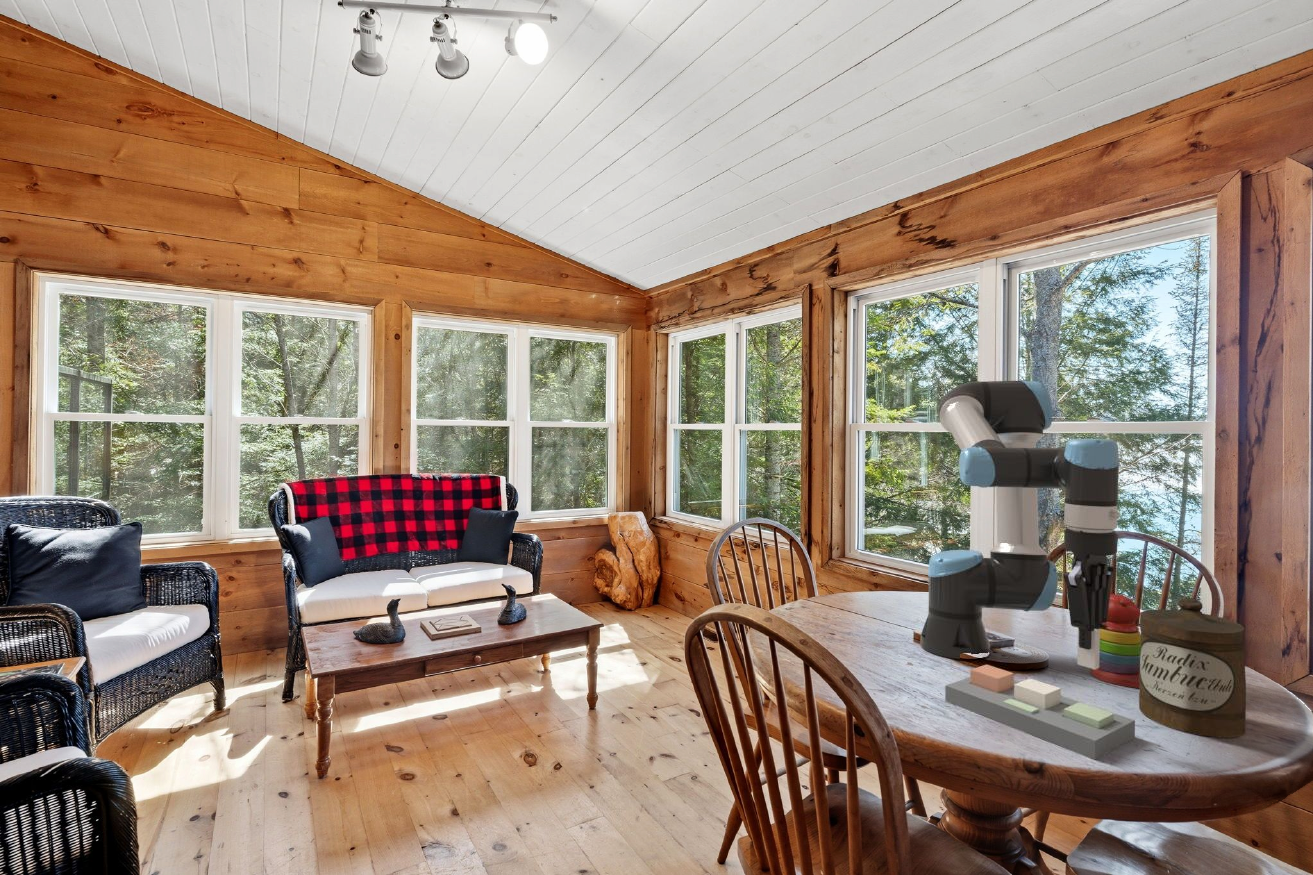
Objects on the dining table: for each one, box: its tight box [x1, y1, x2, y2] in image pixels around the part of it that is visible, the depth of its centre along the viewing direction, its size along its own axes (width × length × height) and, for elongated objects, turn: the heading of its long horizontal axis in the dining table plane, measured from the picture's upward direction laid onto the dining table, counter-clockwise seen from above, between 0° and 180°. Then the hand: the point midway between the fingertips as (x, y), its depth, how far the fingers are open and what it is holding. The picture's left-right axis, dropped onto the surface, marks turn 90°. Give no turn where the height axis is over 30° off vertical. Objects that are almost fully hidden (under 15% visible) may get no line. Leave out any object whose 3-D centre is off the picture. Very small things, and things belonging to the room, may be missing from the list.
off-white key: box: [1014, 678, 1062, 710], centre depth 117 cm, size 5×5×3 cm
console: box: [944, 676, 1136, 760], centre depth 116 cm, size 26×14×3 cm, turn 32°
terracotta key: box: [970, 664, 1015, 693], centre depth 124 cm, size 5×5×3 cm
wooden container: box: [1138, 597, 1247, 739], centre depth 116 cm, size 15×15×22 cm
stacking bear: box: [1090, 592, 1141, 689], centre depth 135 cm, size 11×10×18 cm
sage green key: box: [1064, 701, 1114, 729], centre depth 109 cm, size 5×5×3 cm
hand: (1088, 665), depth 110 cm, fingers closed
